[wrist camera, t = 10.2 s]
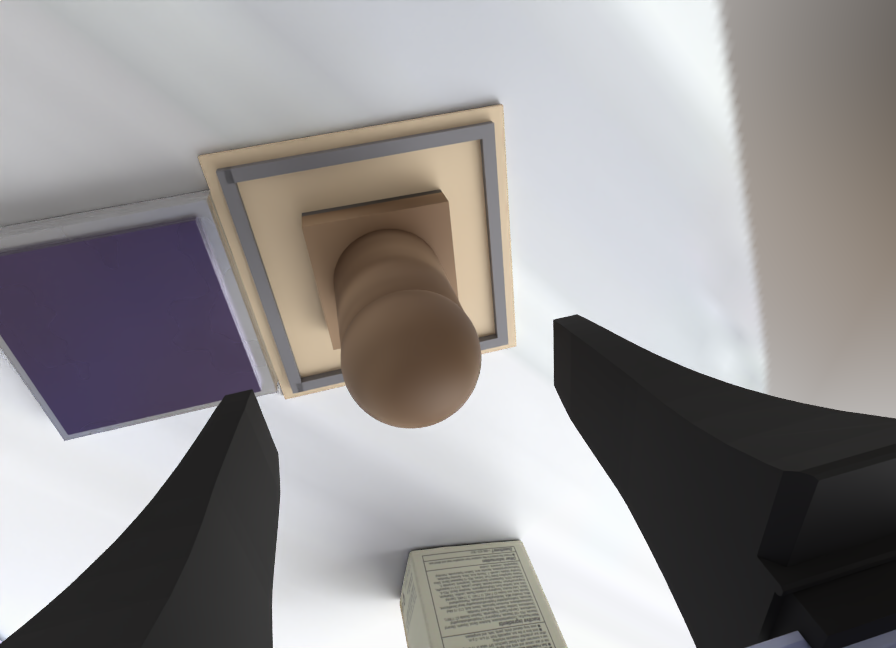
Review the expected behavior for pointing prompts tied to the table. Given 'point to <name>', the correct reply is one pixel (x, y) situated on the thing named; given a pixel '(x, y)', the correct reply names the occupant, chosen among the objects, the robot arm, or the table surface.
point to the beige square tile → (356, 181)
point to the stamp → (395, 306)
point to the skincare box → (476, 599)
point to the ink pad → (128, 314)
